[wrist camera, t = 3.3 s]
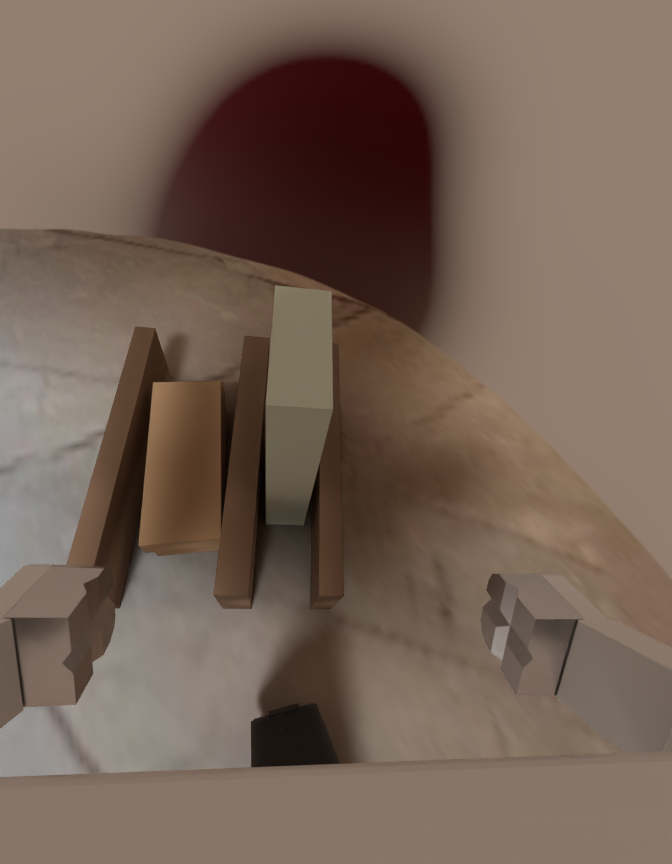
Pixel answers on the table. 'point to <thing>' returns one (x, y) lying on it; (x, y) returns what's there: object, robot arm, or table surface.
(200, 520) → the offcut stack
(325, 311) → the tall panel
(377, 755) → the table surface
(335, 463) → the walnut rack
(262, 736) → the magazine
